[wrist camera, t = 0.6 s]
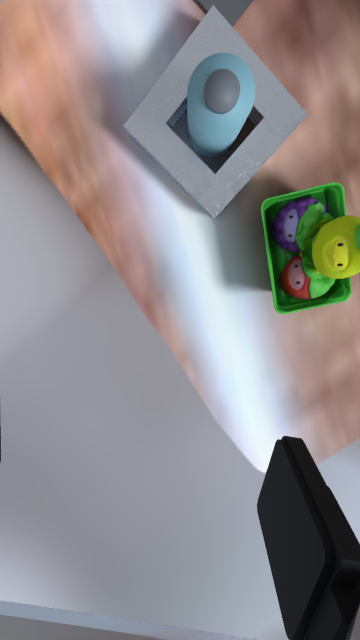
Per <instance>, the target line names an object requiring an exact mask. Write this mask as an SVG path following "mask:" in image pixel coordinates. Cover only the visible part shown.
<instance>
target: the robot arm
mask: <svg viewBox="0 0 360 640" xmlns="http://www.w3.org/2000/svg"><path fill="white" fill-rule="evenodd" d="M0 430H1V427H0ZM0 433H1V431H0ZM0 461H1V434H0ZM257 511H258V515H259V520H260V525H261V529H262V532H263V537H264V542H265V546H266V550H267V554H268V559H269V562H270V567H271V571H272V576H273V580H274V584H275V589H276V593H277V597H278V601H279V606H280V609H281V614H282V618H283V623H284V626H285V631H286V634H287V637H288V639H289V640H360V544H359V542H358V540H357V538H356V536H355V534H354V532H353V531H352V529H351V527H350V525H349V523H348V521H347V519H346V517H345V515H344V514H343V512H342V510H341V508H340V506H339V504H338V502H337V501H336V499H335V497H334V495H333V493H332V491H331V490H330V488H329V487H328V486H327V485H326V483H325V481H324V479H323V477H322V476H321V474H320V472H319V470H318V468H317V466H316V464H315V462H314V460H313V458H312V456H311V455H310V453H309V451H308V449H307V447H306V445H305V443H304V441H303V440H302V439H301V438H295V437H289V436H283V437H282V439H281V440H279V439H278V440H277V441H276V443H275V447H274V450H273V453H272V456H271V460H270V463H269V466H268V469H267V472H266V476H265V479H264V482H263V486H262V489H261V492H260V495H259V498H258V503H257ZM0 640H255V639H249V638H244V637H238V636H231V635H225V634H219V633H212V632H205V631H199V630H193V629H186V628H180V627H174V626H167V625H160V624H154V623H148V622H141V621H134V620H128V619H121V618H115V617H108V616H101V615H94V614H88V613H81V612H74V611H67V610H61V609H54V608H47V607H41V606H34V605H27V604H20V603H13V602H6V601H0Z"/></svg>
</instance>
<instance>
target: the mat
mask: <svg viewBox="0 0 360 640" xmlns="http://www.w3.org/2000/svg"><path fill="white" fill-rule="evenodd" d="M196 1H197V3H198V4H199V5H200V6H201V7H202V8H203V9H204V11H205V12H206V13H208V11H209V10H210V9H211V7H212V6H213V5H214V6H215V8H216V9H217V10H218V11H219V12H220V13H221V15H222V16H223V17H224V18H225V19H226V20H227V21H228V23H229V24H230V25H231V26H232V27H233V25H234V24H235V23H236V22H237V20H238V19H239V18H240V16H241V15H242V14H243V13H244V11H245V10H246V9H247V7H248V6H249V5H250V3H251V2H252V1H253V0H196Z"/></svg>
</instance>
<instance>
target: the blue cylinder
mask: <svg viewBox="0 0 360 640" xmlns="http://www.w3.org/2000/svg"><path fill="white" fill-rule="evenodd" d="M254 100H255V81H254V78H253V75H252V72H251V70H250V69H249V67H248V66H247V64H246V63H245V62H244V61H243V60H242V59H240V58H239V57H237V56H235V55H233V54H230V53H216V54H213V55H210V56H208V57H207V58H205V59H204V60H202V61H201V62H200V63H199V64H198V65H197V67H196V68H195V69H194V71H193V73H192V75H191V77H190V80H189V84H188V89H187V132H188V139H189V142H190V144H191V146H192V147H193V149H194V150H195V151H196V152H197V153H199V154H200V155H202V156H205V157H211V158H213V157H218V156H221V155H223V154H224V153H226V152H227V151H228V150H229V149H230V148H231V146H232V145H233V143H234V141H235V139H236V137H237V135H238V134H239V132H240V130H241V128H242V126H243V124H244V123H245V121H246V119H247V117H248V115H249V113H250V112H251V109H252V107H253V104H254Z"/></svg>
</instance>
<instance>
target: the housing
mask: <svg viewBox="0 0 360 640" xmlns="http://www.w3.org/2000/svg"><path fill="white" fill-rule="evenodd" d="M216 53H230V54H233V55H235V56H237V57H239V58H240V59H242V60H243V61H244V62H245V63H246V64H247V66H248V67H249V69H250V70H251V72H252V75H253V78H254V81H255V100H254V104H253V107H252V109H251V112H250V113H249V115H248V118H249V119H250V120H251V121H252V122H253V123H254V124H255V126H256V127H255V129H254V130H253V131H252V132H251V133H250V134H249V136H248V137H247V138H246V139H245V140H244V141H243V143H242V144H241V145H240V146H239V147H238V148H237V149H236V151H235V152H234V153H233V154H232V155H231V156H230V158H229V159H228V160H227V161H226V162H225V163H224V165H223V166H222V167H221V168H220V169H219V170H218V172H217V173H216V174H215V173H214V172H213V171H212V170H211V169H210V168H209V167H208V166H207V165H206V164H205V163H204V162H203V161H202V160H201V159H200V158H199V157H198V156H197V155H196V154H195V153H194V152H193V151H192V150H191V149H190V148H189V147H188V146H187V145H186V144H185V143H184V142H183V141H182V140H181V139H180V138H179V137H178V136H177V135H176V134H175V133H174V132H173V131H172V129H171V128H172V127H173V125H174V124H175V123H176V121H177V120H178V119H179V118H180V116H181V115H182V114H183V113H184V111H185V110H186V109H187V89H188V84H189V80H190V77H191V75H192V73H193V71H194V69H195V68H196V67H197V65H198V64H199V63H200V62H201V61H202V60H204V59H205V58H207V57H208V56H210V55H213V54H216ZM307 115H308V114H307V113H306V112H305V111H304V109H303V108H302V107H301V106H300V105H299V104H298V102H297V101H296V100H295V99H294V98H293V97H292V96H291V94H290V93H289V92H288V91H287V90H286V89H285V87H284V86H283V85H282V84H281V83H280V82H279V80H278V79H277V78H276V77H275V76H274V75H273V74H272V72H271V71H270V70H269V69H268V68H267V67H266V65H265V64H264V63H263V62H262V61H261V60H260V58H259V57H258V56H257V55H256V54H255V53H254V52H253V50H252V49H251V48H250V47H249V46H248V45H247V43H246V42H245V41H244V40H243V39H242V38H241V37H240V35H239V34H238V33H237V32H236V31H235V30H234V28H233V27H232V26H231V25H230V24H229V23H228V21H227V20H226V19H225V18H224V17H223V16H222V15H221V13H220V12H219V11H218V10H217V9H216V8H215V6H214V5H213V6H212V7H211V9H210V10H209V11H208V13H207V14H206V15H205V17H204V18H203V19H202V21H201V22H200V23H199V25H198V26H197V27H196V29H195V30H194V31H193V33H192V34H191V35H190V37H189V38H188V39H187V41H186V42H185V44H184V45H183V46H182V48H181V49H180V50H179V52H178V53H177V54H176V56H175V57H174V58H173V60H172V61H171V62H170V64H169V65H168V66H167V68H166V69H165V70H164V72H163V73H162V74H161V76H160V77H159V78H158V80H157V81H156V82H155V84H154V85H153V86H152V88H151V89H150V90H149V92H148V93H147V94H146V96H145V97H144V99H143V100H142V101H141V103H140V104H139V105H138V107H137V108H136V109H135V111H134V112H133V113H132V115H131V116H130V117H129V119H128V120H127V121H126V123H125V124H124V125H123V127H124V128H125V130H126V131H127V133H128V134H129V136H130V137H131V138H133V139H134V140H135V141H136V142H137V143H138V144H139V145H140V146H141V147H142V148H143V149H144V150H145V151H146V152H147V153H148V154H149V155H150V156H151V157H152V158H153V159H154V160H155V161H156V162H157V163H158V164H159V165H160V166H161V167H162V168H163V169H164V170H165V171H166V172H167V173H168V174H169V175H170V176H171V177H172V178H173V179H174V180H175V181H176V182H177V183H178V184H179V185H180V186H181V187H182V188H183V189H184V190H185V191H186V192H187V193H188V194H189V195H190V196H191V197H192V198H193V199H194V200H195V201H196V202H197V203H198V204H199V205H200V206H201V207H202V208H204V209H205V210H206V211H207V212H208V213H209V214H210V215H211V216H212V217H213V218H216V217H217V215H218V214H219V213H220V212H221V211H222V210H223V209H224V208H225V207H226V205H227V204H228V203H229V202H230V201H231V200H232V199H233V198H234V197H235V195H236V194H237V193H238V192H239V191H240V190H241V189H242V188H243V187H244V185H245V184H246V183H247V182H248V181H249V180H250V179H251V178H252V177H253V175H254V174H255V173H256V172H257V171H258V170H259V169H260V168H261V167H262V165H263V164H264V163H265V162H266V161H267V160H268V159H269V158H270V157H271V155H272V154H273V153H274V152H275V151H276V150H277V149H278V148H279V147H280V145H281V144H282V143H283V142H284V141H285V140H286V139H287V138H288V137H289V135H290V134H291V133H292V132H293V131H294V130H295V129H296V128H297V127H298V125H299V124H300V123H301V122H302V121H303V120H304V119H305V118H306V117H307Z"/></svg>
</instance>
